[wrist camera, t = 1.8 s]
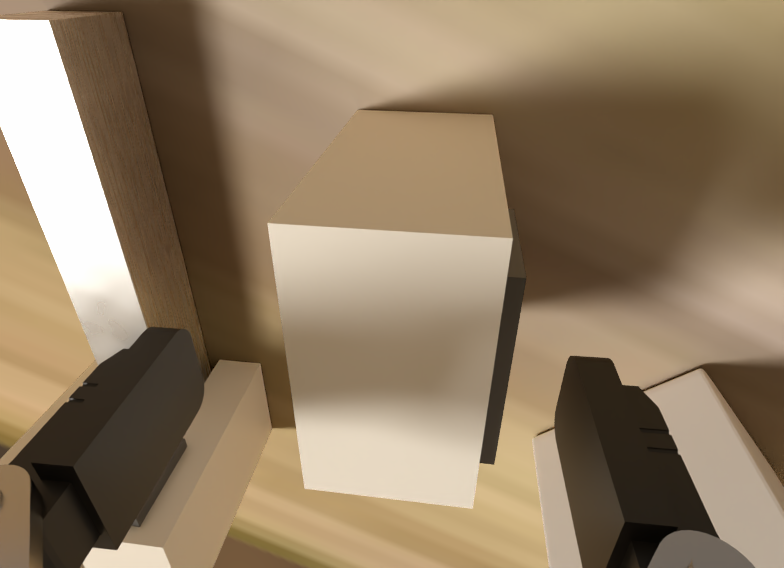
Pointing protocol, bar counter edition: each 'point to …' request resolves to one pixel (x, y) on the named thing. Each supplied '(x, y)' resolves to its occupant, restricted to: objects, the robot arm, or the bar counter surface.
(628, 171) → the bar counter surface
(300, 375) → the cream rectangular block
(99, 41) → the rail
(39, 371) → the bar counter surface
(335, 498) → the bar counter surface
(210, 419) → the block
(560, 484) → the milk carton
